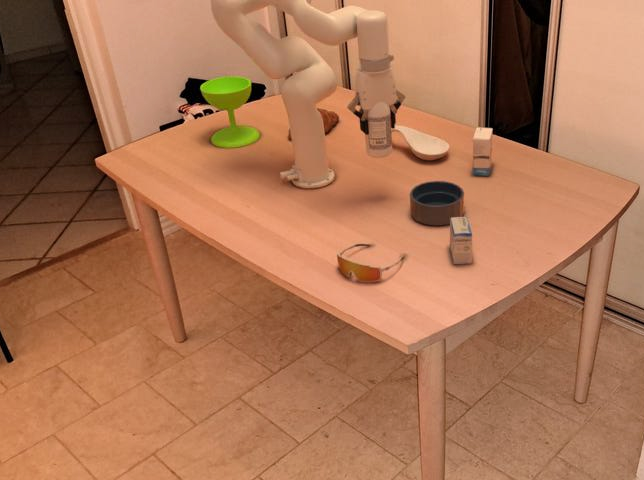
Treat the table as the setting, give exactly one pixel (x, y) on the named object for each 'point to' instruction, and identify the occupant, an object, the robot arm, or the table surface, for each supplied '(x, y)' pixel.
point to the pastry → (326, 120)
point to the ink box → (482, 151)
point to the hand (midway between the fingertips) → (378, 129)
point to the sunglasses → (361, 267)
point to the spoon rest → (423, 143)
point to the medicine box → (460, 240)
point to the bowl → (436, 202)
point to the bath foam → (379, 131)
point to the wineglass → (230, 109)
